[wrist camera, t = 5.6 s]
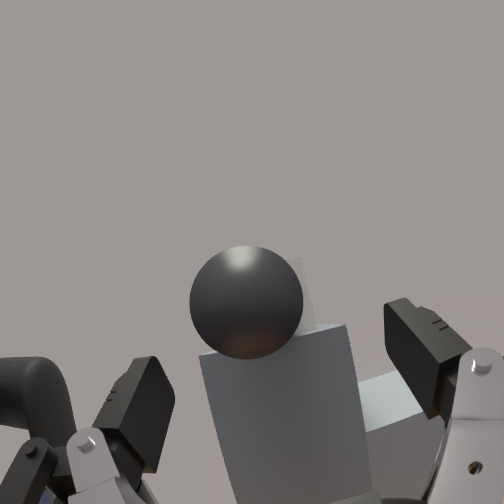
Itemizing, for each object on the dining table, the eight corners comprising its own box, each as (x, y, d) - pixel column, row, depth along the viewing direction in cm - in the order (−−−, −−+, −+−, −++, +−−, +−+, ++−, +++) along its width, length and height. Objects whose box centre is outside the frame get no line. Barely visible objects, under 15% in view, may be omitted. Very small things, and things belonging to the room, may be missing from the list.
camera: (163, 372, 10) (140, 202, 12) (246, 341, 32) (234, 282, 34) (356, 334, 10) (307, 159, 11) (309, 327, 32) (295, 268, 33)
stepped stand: (280, 612, 11) (198, 355, 19) (285, 543, 25) (235, 343, 34) (454, 563, 10) (455, 288, 18) (415, 509, 24) (391, 304, 33)
